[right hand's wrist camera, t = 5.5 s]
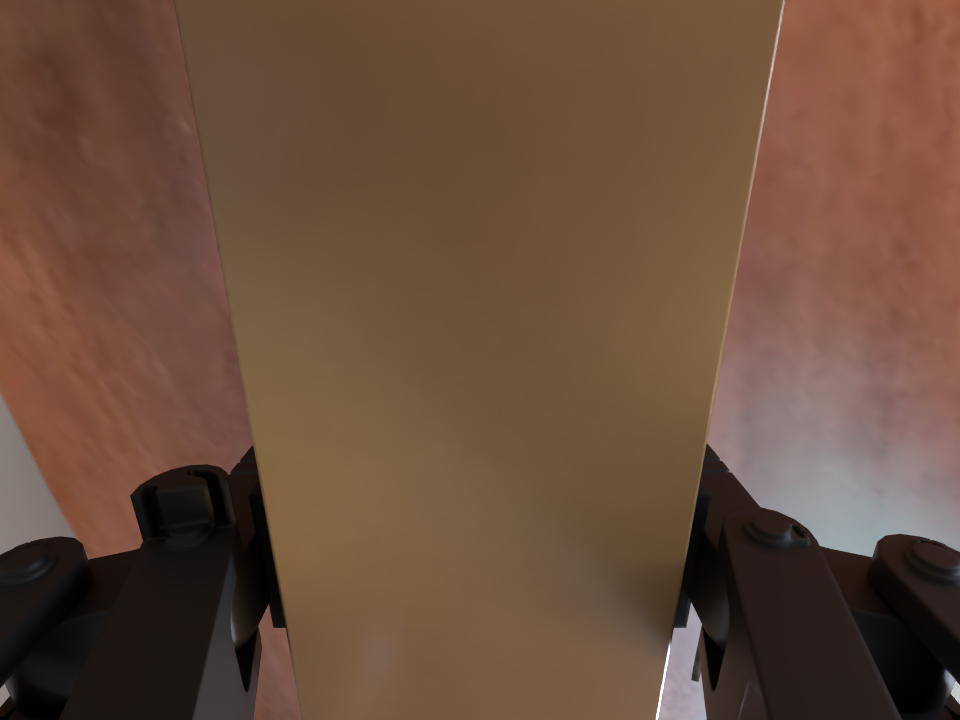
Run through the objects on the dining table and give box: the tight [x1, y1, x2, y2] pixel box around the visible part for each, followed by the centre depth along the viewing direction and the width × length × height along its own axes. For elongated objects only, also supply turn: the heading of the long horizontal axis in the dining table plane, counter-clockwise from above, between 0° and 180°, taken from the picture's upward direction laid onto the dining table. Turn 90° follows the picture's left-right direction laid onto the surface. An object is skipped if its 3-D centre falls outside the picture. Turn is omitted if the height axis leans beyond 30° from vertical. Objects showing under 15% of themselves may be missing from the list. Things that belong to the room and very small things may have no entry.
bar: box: [174, 0, 785, 720], centre depth 9 cm, size 22×6×8 cm, turn 0°
